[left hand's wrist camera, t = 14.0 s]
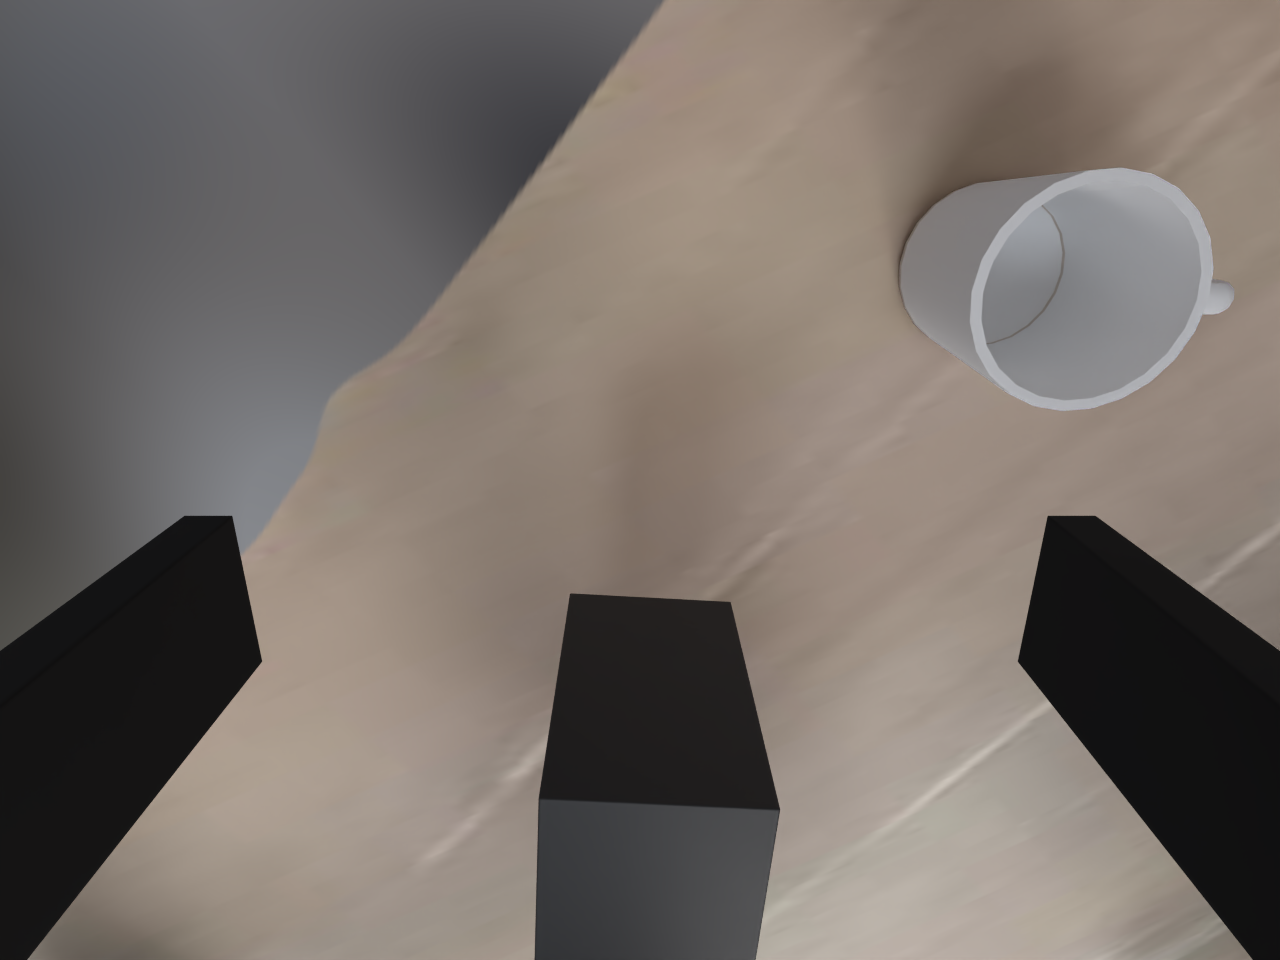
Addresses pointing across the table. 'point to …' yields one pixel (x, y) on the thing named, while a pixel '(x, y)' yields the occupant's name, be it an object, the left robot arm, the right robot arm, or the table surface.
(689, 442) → the table surface
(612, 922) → the box
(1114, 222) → the mug
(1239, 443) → the table surface
